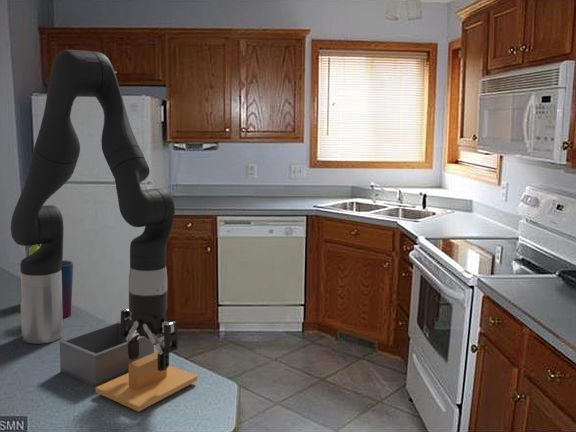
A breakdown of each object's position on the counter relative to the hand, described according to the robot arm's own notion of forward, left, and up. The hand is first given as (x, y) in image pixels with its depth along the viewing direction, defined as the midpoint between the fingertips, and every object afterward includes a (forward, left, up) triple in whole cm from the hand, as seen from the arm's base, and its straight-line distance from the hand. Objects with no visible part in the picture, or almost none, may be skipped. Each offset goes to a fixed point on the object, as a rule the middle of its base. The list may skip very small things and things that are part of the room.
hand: (148, 363), depth 116 cm
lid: (0, 0, -6) cm, 6 cm away
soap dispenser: (-65, +17, -6) cm, 67 cm away
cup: (-51, +15, -6) cm, 53 cm away
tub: (-15, +2, -6) cm, 16 cm away
